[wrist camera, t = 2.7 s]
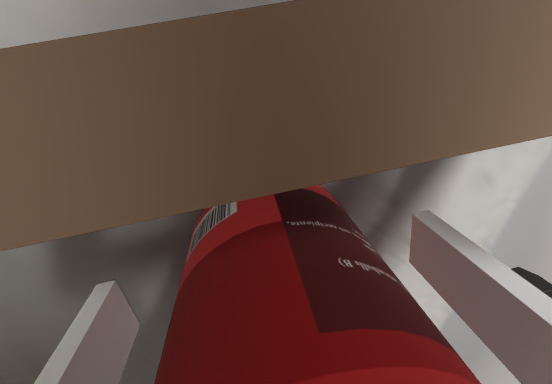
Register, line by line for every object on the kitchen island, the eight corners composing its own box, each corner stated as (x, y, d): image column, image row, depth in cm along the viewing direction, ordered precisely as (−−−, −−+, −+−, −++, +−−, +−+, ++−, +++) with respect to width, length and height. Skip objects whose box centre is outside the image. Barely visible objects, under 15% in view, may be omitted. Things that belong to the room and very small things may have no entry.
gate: (463, 15, 10) (1175, -145, 2) (458, 59, 11) (1008, 39, 3) (36, 90, 9) (-951, 206, 2) (58, 133, 10) (-555, 367, 2)
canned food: (196, 300, 15) (125, 752, 5) (187, 163, 12) (-57, 677, 2) (328, 293, 16) (477, 645, 6) (353, 167, 13) (740, 488, 3)
